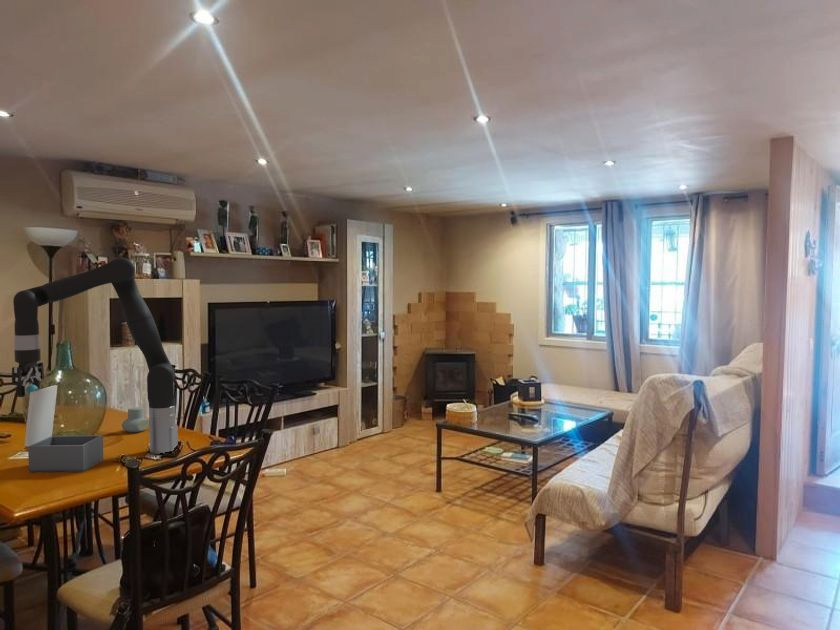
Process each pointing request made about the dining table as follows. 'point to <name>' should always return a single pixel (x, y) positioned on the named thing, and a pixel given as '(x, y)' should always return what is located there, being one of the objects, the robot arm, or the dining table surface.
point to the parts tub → (65, 454)
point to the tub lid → (40, 413)
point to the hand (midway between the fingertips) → (29, 394)
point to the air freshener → (135, 420)
